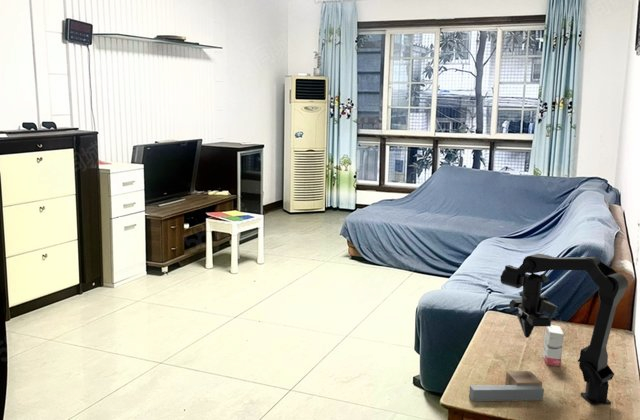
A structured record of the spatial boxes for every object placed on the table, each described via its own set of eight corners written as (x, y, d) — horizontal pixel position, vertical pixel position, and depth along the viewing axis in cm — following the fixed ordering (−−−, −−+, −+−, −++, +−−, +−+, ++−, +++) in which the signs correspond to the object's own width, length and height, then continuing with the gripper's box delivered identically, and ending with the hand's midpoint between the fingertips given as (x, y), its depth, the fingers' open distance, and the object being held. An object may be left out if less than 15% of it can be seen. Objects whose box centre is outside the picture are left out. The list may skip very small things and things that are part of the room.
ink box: (560, 366, 208) (564, 334, 206) (545, 365, 209) (549, 332, 207) (556, 356, 216) (560, 325, 214) (542, 355, 217) (545, 323, 215)
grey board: (542, 400, 183) (543, 389, 183) (472, 401, 181) (473, 390, 180) (538, 395, 186) (539, 384, 186) (469, 396, 184) (470, 385, 183)
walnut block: (540, 396, 186) (542, 382, 186) (515, 396, 185) (517, 382, 185) (528, 384, 194) (530, 371, 193) (505, 384, 193) (506, 371, 192)
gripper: (569, 301, 190) (563, 348, 193) (541, 283, 208) (536, 326, 211) (535, 301, 189) (530, 348, 192) (510, 283, 207) (506, 326, 210)
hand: (526, 337), depth 201 cm, fingers closed
